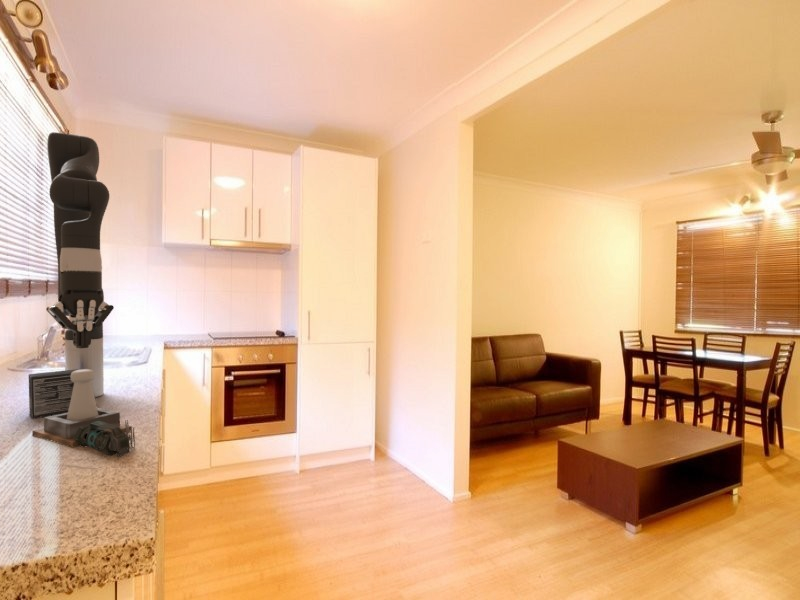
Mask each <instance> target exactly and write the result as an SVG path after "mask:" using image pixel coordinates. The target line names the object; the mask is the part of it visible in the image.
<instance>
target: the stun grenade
mask: <svg viewBox="0 0 800 600" xmlns="http://www.w3.org/2000/svg"><path fill="white" fill-rule="evenodd" d="M124 425H125V427H126V432H125V433H124V432H123V431H122V430H121V429H120V427H118V426H115V425H112V424H108V423H105V422H101V421H96V422H93V423H90V424H88V425H85V426H81V427H79V429H78V430H77V432H76V434H75V436H74V440H75V441H76V442H77V443H78V444H79V446H80V447H82V446H83V448H85V446H87V447H90V448H92V449H96V450H99V451H102V452H103V454H105V456H109V457H112V456H115V455H116V456H117V457H118V458H119V457H121V456H123V455H126V454H129V453H130V451H131V450H132V449H134V450H135V448H136V438H135V437H136V435H135V427H132V428H131V431H129V426H130V425H129V421H128V419H127V420H126V419H125V420H124ZM98 426H100V427H103V428H106V429H110V430H111V432H110V431H106V430H103V429H99V428H98ZM127 428H128V431H127ZM133 444H134V445H133Z"/></svg>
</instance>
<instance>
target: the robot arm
mask: <svg viewBox="0 0 800 600" xmlns="http://www.w3.org/2000/svg"><path fill="white" fill-rule="evenodd" d="M46 149H47V151H46V152H47V156H48V157H47V159H48V164H49V165H48V166H49V171H50V172H49V173H50V179H51V184H50V186H49V198H50V201H51V202H52V204H53V226H54V239H55V247H56V258H57V302H56V303H54V304H53V305H52V306H47V307H46V312H47V313H48V314H49V315H50V316H51V317H52V318H53V319H54V320H55V321H56V322H57V324H59V325H60V326H61V328H62V329H64V330H65V332H64V349H65V351H64V355H65V356H64V357H65V358H64V359H65V362H64V363H65V365H64V371H65V370H74V369H78V370H82V369H89V370H92V371H93V372H94V379H93V380H91V383H92V388H93V392H94V397H95V398H97V397H101V396H103V395H104V387H105V386H104V380H105V379H104V377H105V376H104V330H103V329H104V325H103V324H104V322H105V321H106V319H107V318H108V317H109V316H110V314H111V313H112V312H113V310H114V308H115V307H114V305H113V304H108V303H107V302H105V301H104V300H105V297H104V296H105V295H104V289H103V277H102V276H103V272H102V271H103V265H102V263H103V262H102V255H101V229H102V224H103V223H102V222H103V220H104V216H105V213H106V210H107V207H108V205H109V202H110V191H109V189H108V187H107V185H105V184H104V182H102V181H99V180H98V178H97V174H98V170H99V167H100V151H99V146H98V144H97V142H96V141H95V140H94V139H93V138H92V137H89V136H84V135H78V134H70V133H63V132H54V131H53V132H50V133H49V134H48V135H47V139H46ZM68 317H69V318H68Z"/></svg>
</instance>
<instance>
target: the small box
mask: <svg viewBox="0 0 800 600" xmlns="http://www.w3.org/2000/svg"><path fill="white" fill-rule="evenodd" d="M76 370H78V369H74V370H65V369H64V370H58V371H57V370H56V371H47V372H39V373H38V372H37V373H29V374H28V398H29V399H28V400H29V401H28V402H29V406H28V407H29V416H30V418H31V419H32V420H33V419H38V418H45V417H49V416H51V415H52V416H54V415H57V414H58V415H59V414H63V413H68V410H69V406H70V401H71V397H72V391H73V386H74V382H72V381H71V377H70V376H71V373H72V372H73V371H76Z"/></svg>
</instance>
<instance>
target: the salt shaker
mask: <svg viewBox="0 0 800 600" xmlns="http://www.w3.org/2000/svg"><path fill="white" fill-rule="evenodd" d="M70 377H71V381H72V382H74V386H73V391H72V397H71V401H70V406H69V410H68V415H67V420H70V421H78V420H82V419H86V418H91V417H95V416H98V411H97V408H98V406H97V402H96V397H94V392H93V388H92V383H91V380H93V379H94V372H93V371H92V370H89V369H82V370H76V371H73V372H72V373H71V376H70Z"/></svg>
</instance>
